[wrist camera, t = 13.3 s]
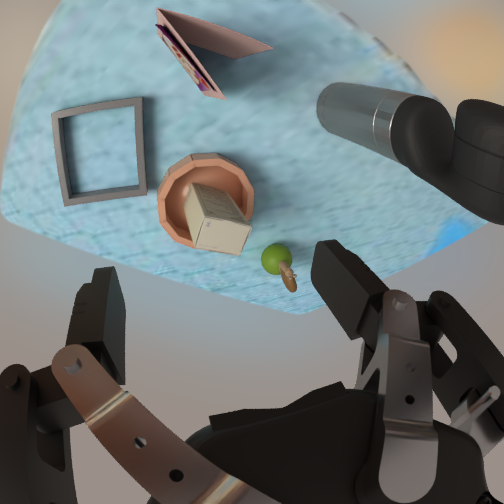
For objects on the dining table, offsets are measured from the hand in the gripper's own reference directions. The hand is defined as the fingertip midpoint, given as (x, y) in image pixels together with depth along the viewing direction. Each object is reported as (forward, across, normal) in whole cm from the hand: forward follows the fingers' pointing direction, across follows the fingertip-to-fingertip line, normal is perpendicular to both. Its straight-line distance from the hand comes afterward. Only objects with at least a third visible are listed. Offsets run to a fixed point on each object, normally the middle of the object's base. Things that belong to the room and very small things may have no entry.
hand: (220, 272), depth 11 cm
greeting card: (+33, -3, -12) cm, 35 cm away
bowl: (+33, -4, +10) cm, 35 cm away
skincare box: (+32, -4, +10) cm, 34 cm away
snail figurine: (+33, -16, +22) cm, 42 cm away
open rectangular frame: (+33, +11, +1) cm, 35 cm away
